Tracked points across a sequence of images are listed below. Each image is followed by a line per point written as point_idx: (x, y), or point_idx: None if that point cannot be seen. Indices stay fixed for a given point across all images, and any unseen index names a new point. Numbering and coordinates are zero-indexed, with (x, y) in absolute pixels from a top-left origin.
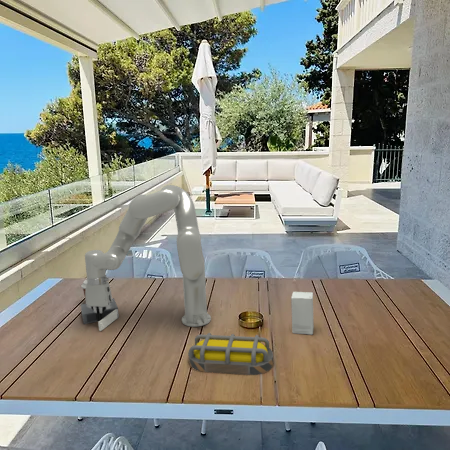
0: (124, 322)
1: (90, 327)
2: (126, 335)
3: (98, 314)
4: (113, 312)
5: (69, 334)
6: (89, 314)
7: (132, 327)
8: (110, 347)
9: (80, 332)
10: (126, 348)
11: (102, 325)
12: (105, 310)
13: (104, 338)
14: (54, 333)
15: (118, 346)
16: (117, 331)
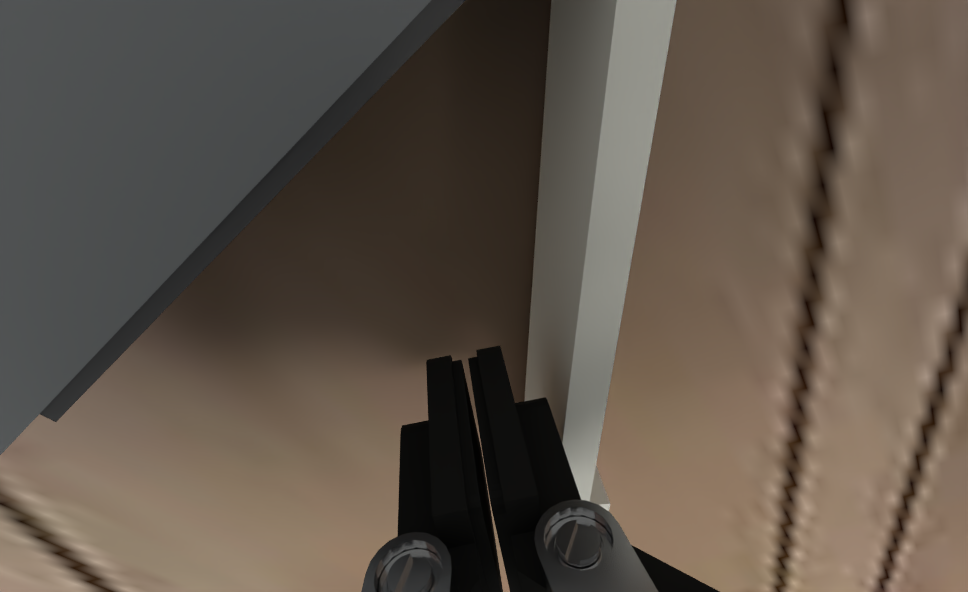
0: (793, 89)
1: (312, 381)
2: (902, 403)
3: (514, 589)
4: (646, 137)
5: (206, 556)
6: (82, 376)
7: (963, 217)
8: (788, 577)
9: (294, 499)
10: (934, 552)
11: (599, 487)
12: (335, 101)
13: (667, 506)
14: (3, 589)
15: (856, 552)
16: (763, 363)
